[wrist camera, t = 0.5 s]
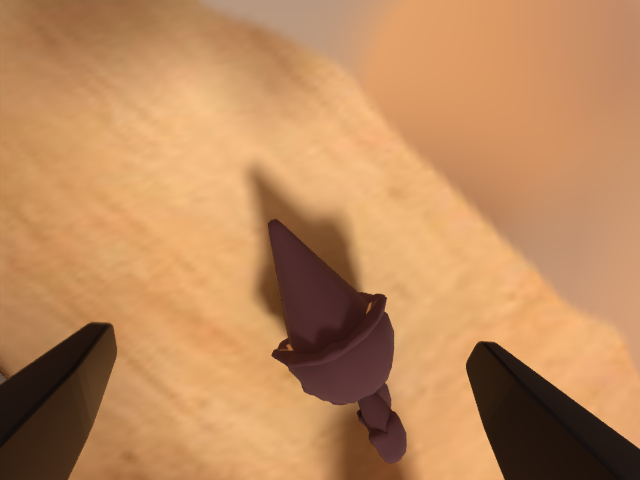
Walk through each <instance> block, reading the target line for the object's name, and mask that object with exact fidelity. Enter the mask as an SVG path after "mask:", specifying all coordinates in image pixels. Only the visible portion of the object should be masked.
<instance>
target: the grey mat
mask: <svg viewBox="0 0 640 480" xmlns="http://www.w3.org/2000/svg"><path fill="white" fill-rule="evenodd" d="M5 380H7V379H6V378H5V377H4V376H3V375H2V374H1V373H0V384H1V383H3V382H4V381H5Z"/></svg>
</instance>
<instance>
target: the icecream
mask: <svg viewBox="0 0 640 480" xmlns="http://www.w3.org/2000/svg"><path fill="white" fill-rule="evenodd" d="M268 229H269V235H270V241H271V246H272V251H273V257H274V262H275V267H276V273H277V279H278V284H279V290H280V295H281V301H282V306H283V312H284V318H285V323H286V329H287V334H288V338H287V339H285V340H283V341H282V342H281V343H280V344H279V346H278V349H275V350H273V353H272V355H271V356H272V357H274V358H275V359H277V360H278V361H280V362H282V363H284V364H285V365H286V366H288V368H289V371H290V372H291V373H292V374H293V375H294V376H295V377H296V378H298V380H299V381H300V382H301V385H302V388H303V391H304V392H305V393H307V394H309V395H314V396H316V397H318V398H319V399H321V400H324V401H329V402H330V403H332V404H334V405H345V404H348V403H355V402H357V401H358V404H359V407H360V410H358V411H357V414H358V418H359V422H361V423H362V424H364V425H365V426H366V427H367V429H368V431H369V440H370V442H371V444H372V445H374V446H375V447H376V449H377V451H378V452H379V454H380V456H381V457H382V458H383V459H384V460H385V462H386V463H396V462H398V461H399V460H400V459H401V457H402V456H403V455H404V454H405V452H406V446H407V442H406V432H405V430H404V427H403V425H402V423H401V421H400V418H399V417H398V415H397V414H396V412H394V411H392V410H391V397H390V393H389V390H388V386H387V385H386V383H385V382H386V380H387V379H388V376H389V373H390V370H391V368H392V361H393V354H394V330H393V328H392V325H391V322H390V319H389V316H388V314H387V313H386V312H385V311H384V310H385V305H386V300H387V297H385V295H383V294H375V295H372V294H368V293H363V292H359V293H358V292H357V291H356V290H354V289H353V288H352V287H351V286H350V285H349V284H348V283H347V282H346V281H344V280H343V279H342V278H341V277H340V276H339V275H338V274H337V273H336V272H335V271H333V270H332V269H331V268H330V267H329V266H328V265H327V264H326V263H325V262H323V261H322V260H321V259H320V258H319V257H318V256H317V255H316V254H315V253H314V252H312V251H311V250H310V249H309V248H308V247H307V246H306V245H305V244H304V243H303V242H301V241H300V240H299V239H298V238H297V237H296V236H295V235H294V234H293V233H292V232H291V231H290V230H289V229H288V228H286V227H285V226H284V225H283V224H282V223H281V222H279V221H278V220H277V219H274V220H271V221H270V222H269V223H268Z"/></svg>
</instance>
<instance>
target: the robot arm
mask: <svg viewBox="0 0 640 480" xmlns="http://www.w3.org/2000/svg"><path fill="white" fill-rule="evenodd" d="M116 356H117V345H116V339H115V333H114V328H113V325H112V324H111V323H105V322H91V323H89V324H87V325H86V326H84V327H83V328H81V329H80V330H78V331H77V332H75V333H74V334H72V335H71V336H70V337H68V338H67V339H65V340H64V341H62V342H61V343H59V344H58V345H56V346H55V347H54V348H52V349H51V350H49V351H48V352H46V353H45V354H43V355H42V356H40V357H39V358H38V359H36V360H35V361H33V362H32V363H30V364H29V365H27V366H26V367H24V368H23V369H22V370H20V371H19V372H17V373H16V374H14V375H13V376H11V377H10V378H8V379H7V380H5V381H4V382H3V383H1V384H0V480H68V479H69V476H70V474H71V472H72V470H73V468H74V466H75V464H76V461H77V459H78V457H79V455H80V453H81V451H82V449H83V446H84V444H85V442H86V440H87V438H88V435H89V433H90V431H91V429H92V426H93V423H94V421H95V418H96V415H97V412H98V409H99V406H100V404H101V401H102V398H103V395H104V392H105V389H106V386H107V383H108V380H109V377H110V374H111V371H112V368H113V366H114V363H115V360H116ZM466 370H467V374H468V377H469V381H470V384H471V387H472V391H473V394H474V397H475V401H476V404H477V407H478V411H479V414H480V417H481V420H482V423H483V426H484V429H485V432H486V434H487V437H488V440H489V442H490V445H491V447H492V450H493V452H494V454H495V457H496V459H497V462H498V464H499V467H500V469H501V472H502V474H503V477H504V479H505V480H640V449H639V448H638V447H636V446H635V445H634V444H632V443H631V442H630V441H628V440H627V439H626V438H624V437H623V436H621V435H620V434H619V433H617V432H616V431H615V430H613V429H612V428H611V427H609V426H608V425H607V424H605V423H604V422H602V421H601V420H600V419H598V418H597V417H596V416H594V415H593V414H592V413H590V412H589V411H588V410H586V409H585V408H584V407H582V406H581V405H579V404H578V403H577V402H575V401H574V400H573V399H571V398H570V397H569V396H567V395H566V394H565V393H563V392H562V391H561V390H559V389H558V388H556V387H555V386H554V385H552V384H551V383H550V382H548V381H547V380H546V379H544V378H543V377H542V376H540V375H539V374H538V373H536V372H535V371H533V370H532V369H531V368H529V367H528V366H527V365H525V364H524V363H523V362H521V361H520V360H519V359H517V358H516V357H514V356H513V355H512V354H510V353H509V352H508V351H506V350H505V349H504V348H502V347H501V346H500V345H498V344H497V343H495V342H489V341H480V342H478V343H477V344H476V346H475V347H474V349H473V351H472V353H471V355H470V356H469V358H468V360H467V363H466Z"/></svg>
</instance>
